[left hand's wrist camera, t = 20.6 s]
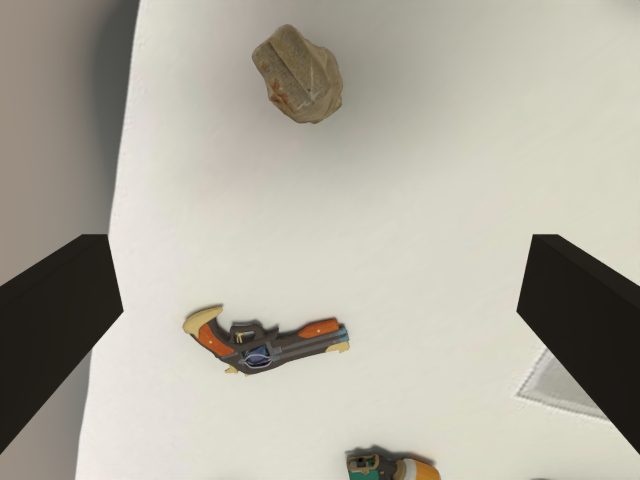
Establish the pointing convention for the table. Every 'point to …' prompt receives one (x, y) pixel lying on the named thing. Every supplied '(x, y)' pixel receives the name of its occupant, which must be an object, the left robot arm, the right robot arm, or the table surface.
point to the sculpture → (299, 76)
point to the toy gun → (263, 342)
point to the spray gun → (389, 469)
